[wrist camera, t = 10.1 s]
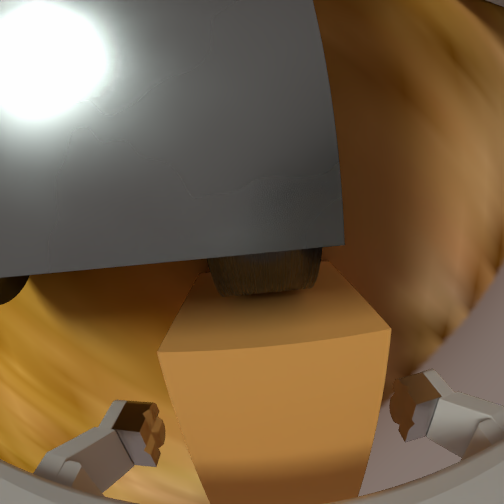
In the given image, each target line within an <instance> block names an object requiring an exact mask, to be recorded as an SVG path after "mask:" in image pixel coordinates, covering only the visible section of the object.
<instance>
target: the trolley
mask: <svg viewBox="0 0 504 504" xmlns="http://www.w3.org/2000/svg"><path fill="white" fill-rule="evenodd" d="M340 245H345V243H344V220H343V203H342V189H341V176H340V165H339V155H338V145H337V136H336V128H335V120H334V112H333V105H332V98H331V92H330V85H329V79H328V73H327V67H326V61H325V56H324V51H323V45H322V40H321V35H320V31H319V26H318V21H317V17H316V12H315V8H314V4H313V0H0V305H2V304H4V303H7V302H9V301H10V300H12V299H13V298H14V297H15V296H16V295H17V294H18V293H19V292H20V291H21V290H22V288H23V287H24V285H25V284H26V282H27V280H28V278H29V276H30V275H35V274H45V273H56V272H67V271H78V270H88V269H99V268H110V267H120V266H131V265H142V264H152V263H163V262H173V261H184V260H194V259H205V258H207V261H208V265H209V269H210V272H211V276H212V278H213V281H214V284H215V286H216V289H217V291H218V293H219V294H220V295H221V296H222V297H226V296H238V295H249V294H260V293H270V292H280V291H290V290H299V289H308V288H312V287H313V286H314V284H315V282H316V280H317V277H318V273H319V268H320V262H321V254H322V247H329V246H340Z"/></svg>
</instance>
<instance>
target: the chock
mask: <svg viewBox="0 0 504 504" xmlns="http://www.w3.org/2000/svg"><path fill="white" fill-rule="evenodd" d="M390 338H391V328H390V327H389V325H388V324H387V323H386V322H385V321H384V320H383V319H382V318H381V317H380V315H379V314H378V313H377V312H376V311H375V310H374V309H373V308H372V307H371V306H370V304H369V303H368V302H367V301H366V300H365V299H364V298H363V297H362V296H361V295H360V294H359V293H358V291H357V290H356V289H355V288H354V287H353V286H352V285H351V284H350V283H349V282H348V281H347V280H346V279H345V278H344V277H343V275H342V274H341V273H340V272H339V271H338V270H337V269H336V268H335V267H334V266H333V265H332V264H331V263H330V262H329V261H323V262H320V268H319V273H318V277H317V280H316V282H315V284H314V286H313V287H312V288H308V289H299V290H290V291H280V292H270V293H260V294H249V295H238V296H226V297H222V296H221V295H220V294H219V293H218V291H217V289H216V286H215V284H214V281H213V278H212V276H211V272H209V273H200V274H199V276H198V278H197V279H196V281H195V283H194V285H193V287H192V288H191V290H190V292H189V294H188V296H187V298H186V299H185V301H184V303H183V305H182V307H181V308H180V310H179V312H178V314H177V316H176V318H175V320H174V321H173V323H172V325H171V327H170V329H169V331H168V333H167V334H166V336H165V338H164V340H163V342H162V344H161V346H160V348H159V350H158V351H157V354H158V358H159V362H160V365H161V369H162V372H163V376H164V379H165V383H166V386H167V389H168V392H169V396H170V399H171V402H172V405H173V408H174V411H175V414H176V417H177V420H178V423H179V426H180V429H181V432H182V434H183V437H184V440H185V443H186V445H187V448H188V451H189V453H190V456H191V459H192V461H193V464H194V466H195V469H196V471H197V474H198V476H199V478H200V481H201V483H202V486H203V488H204V490H205V492H206V495H207V497H208V499H209V501H210V504H325V503H331V502H336V501H341V500H346V499H350V498H355V497H358V494H359V491H360V488H361V484H362V481H363V478H364V474H365V471H366V467H367V463H368V460H369V456H370V452H371V448H372V444H373V440H374V435H375V431H376V426H377V421H378V416H379V411H380V406H381V401H382V395H383V389H384V383H385V377H386V370H387V363H388V355H389V347H390Z"/></svg>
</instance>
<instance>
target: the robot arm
mask: <svg viewBox="0 0 504 504" xmlns="http://www.w3.org/2000/svg"><path fill="white" fill-rule="evenodd" d="M393 390H394V392H395V393H394V395H393V396H392V397H391V399H390V414H391V417H392V419H393V421H394V422H395V423H397V424H399V425H400V426H399V432H400V434H401V436H402V437H403V439H404V441H405V442H408V441H411V440H414V439H418V438H421V437H425V436H426V437H427V438H429V439H430V440H432V441H434V442H435V443H437V444H439V445H440V446H442V447H444V448H446V449H447V450H449V451H451V452H453V453H454V454H456V455H458V456H460V457H461V458H462V459H461V461H460V462H458V463H456V464H454V465H451V466H449V467H447V468H444V469H442V470H440V471H437V472H435V473H432V474H430V475H427V476H424V477H422V478H419V479H416V480H413V481H411V482H408V483H405V484H402V485H399V486H395V487H392V488H389V489H385V490H382V491H379V492H375V493H371V494H368V495H363V496H359V497H355V498H350V499H346V500H341V501H336V502H331V503H325V504H504V406H502V405H499V404H496V403H493V402H489V401H486V400H483V399H480V398H477V397H474V396H471V395H468V394H464V393H462V392H459V391H457V392H454V391H453V390H452V389H451V388H450V386H449V385H448V384H447V383H446V382H445V381H444V380H443V378H442V377H441V376H440V375H439V374H438V373H437V372H436V371H435V370H434V369H430V370H426V371H423V372H420V373H417V374H413V375H410V376H406V377H402V378H398V379H395V381H394V383H393ZM158 413H159V409H158V407H157V404H155V403H151V402H138V401H125V400H115V401H113V403H112V404H111V406H110V408H109V410H108V411H107V413H106V415H105V416H104V418H103V420H102V422H101V423H100V425H99V427H94V428H92V429H90V430H88V431H87V432H85V433H83V434H81V435H79V436H77V437H76V438H74V439H72V440H70V441H68V442H66V443H64V444H62V445H61V446H59V447H57V448H55V449H53V450H51V451H49V452H47V453H46V455H45V456H44V458H43V459H42V461H41V462H40V464H39V465H38V467H37V469H36V470H35V472H34V473H33V474H32V473H30V472H28V471H25V470H23V469H21V468H18V467H16V466H14V465H12V464H10V463H7V462H5V461H3V460H1V459H0V504H138V503H132V502H127V501H122V500H117V499H113V498H108V497H105V496H104V495H103V494H102V493H103V492H104V491H105V490H107V489H108V488H109V487H110V486H111V485H113V484H114V483H115V482H116V481H117V480H118V479H120V478H121V477H122V476H123V475H124V474H125V473H127V472H128V471H129V470H130V469H131V468H132V467H133V466H134V465H141V466H152V467H157V464H158V460H159V457H160V454H161V453H160V451H159V449H158V448H159V447H161V446H162V445H163V444H164V441H165V426H164V423H163V420H162V419H160V418H159V417H158Z"/></svg>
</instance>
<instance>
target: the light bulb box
mask: <svg viewBox="0 0 504 504" xmlns="http://www.w3.org/2000/svg"><path fill="white" fill-rule="evenodd" d="M486 1H489V2H492V3H494V4H497V5H500V6H502V7H504V0H486Z"/></svg>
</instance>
